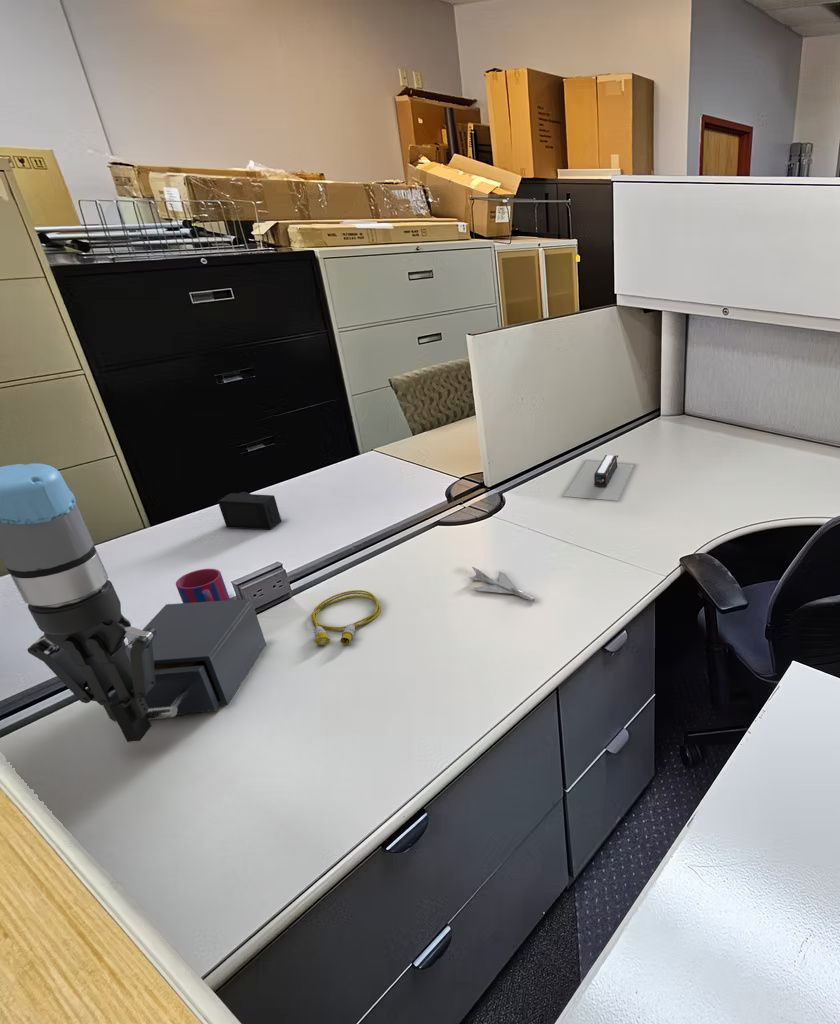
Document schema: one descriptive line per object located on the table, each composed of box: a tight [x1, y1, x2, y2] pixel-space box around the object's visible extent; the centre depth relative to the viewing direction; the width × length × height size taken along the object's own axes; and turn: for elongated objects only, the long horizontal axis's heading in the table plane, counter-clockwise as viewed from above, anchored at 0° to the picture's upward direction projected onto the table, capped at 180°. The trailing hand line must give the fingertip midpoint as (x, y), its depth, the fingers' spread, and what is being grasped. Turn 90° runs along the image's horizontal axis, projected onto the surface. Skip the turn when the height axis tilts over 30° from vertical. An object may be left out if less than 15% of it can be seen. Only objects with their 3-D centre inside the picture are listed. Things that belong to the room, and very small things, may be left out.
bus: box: [564, 454, 634, 502], centre depth 174 cm, size 14×25×4 cm, turn 174°
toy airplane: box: [465, 566, 536, 602], centre depth 126 cm, size 8×21×2 cm, turn 60°
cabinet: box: [125, 598, 267, 706], centre depth 98 cm, size 15×13×10 cm
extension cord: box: [310, 589, 381, 646], centre depth 114 cm, size 12×16×2 cm
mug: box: [175, 568, 231, 603], centre depth 113 cm, size 7×10×7 cm
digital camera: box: [217, 491, 282, 531], centre depth 143 cm, size 10×5×7 cm, turn 89°
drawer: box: [113, 661, 220, 724], centre depth 93 cm, size 18×11×8 cm, turn 11°
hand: (139, 733), depth 84 cm, fingers closed
